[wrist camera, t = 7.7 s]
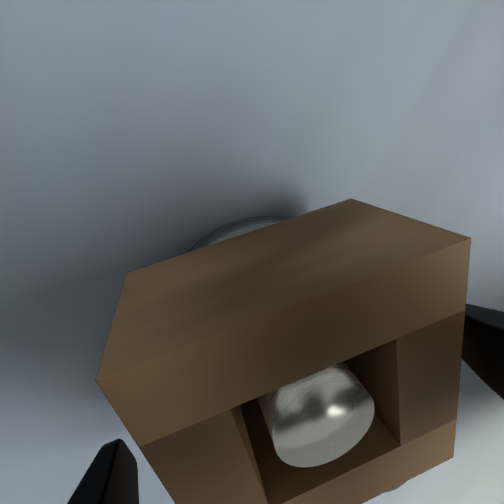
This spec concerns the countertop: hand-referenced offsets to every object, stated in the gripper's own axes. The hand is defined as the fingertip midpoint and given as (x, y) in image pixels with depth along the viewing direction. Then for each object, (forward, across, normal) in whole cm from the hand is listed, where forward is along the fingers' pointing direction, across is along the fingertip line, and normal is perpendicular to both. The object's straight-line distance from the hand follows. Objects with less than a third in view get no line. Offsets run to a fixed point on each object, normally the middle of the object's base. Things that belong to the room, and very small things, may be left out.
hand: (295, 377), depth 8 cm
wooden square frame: (+2, 0, 0) cm, 3 cm away
